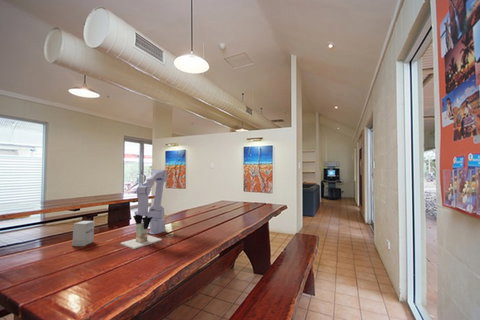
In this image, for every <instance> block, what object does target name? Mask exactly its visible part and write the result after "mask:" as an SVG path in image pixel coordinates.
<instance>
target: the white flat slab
mask: <svg viewBox="0 0 480 320" xmlns="http://www.w3.org/2000/svg"><path fill="white" fill-rule="evenodd" d="M162 240H163V239H162V238H159V237H157V236H156V237H155V236H154V235H148V234H147V241H144V242H141V243H140V242H137V241H136V238H133V239H129V240H126V241H122V242H119V244H120V245H121V246H124V247H127V248H129V249H132V250H136V249H139V248H142V247H145V246H148V245H151V244H152V245H153V244H155V243H158V242H161V241H162Z"/></svg>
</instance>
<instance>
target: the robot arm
mask: <svg viewBox="0 0 480 320" xmlns="http://www.w3.org/2000/svg"><path fill="white" fill-rule="evenodd" d="M167 172H168V171H167V170H166V169H152V170H151V172H150V176H149V178H146V179H145V180H144V182H143V183H142V184H141V185H138V186H137V187H136V195H137V197H136V198H137V201H138V202H137V210H135V211H134V215H133V216H132V218H133V219H134V221H135V225H136V224H140V223H144V229H149V231H147V232H148V233H147V234H151V235H157V234H161V233H165V232H166V220H165V218H164V217H165V207H163V206H162V198H163V192H164V191H163V190H164V185H165V183H166V182H167V179H168V173H167ZM155 184H156V186H155V192H154V199H153V205H151V206H150V207H149V195H150V194H151V191H152V188H153V186H154V185H155Z"/></svg>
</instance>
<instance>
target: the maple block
mask: <svg viewBox="0 0 480 320" xmlns="http://www.w3.org/2000/svg"><path fill="white" fill-rule="evenodd" d="M148 232H149V231H147V232H146V233H142V234H139V233H136V232H135V239H136V241H137V242H140V243H141V242H144V241H147V235H148V234H149V233H148Z"/></svg>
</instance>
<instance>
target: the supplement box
mask: <svg viewBox="0 0 480 320" xmlns="http://www.w3.org/2000/svg"><path fill="white" fill-rule="evenodd" d="M94 234H95V220H82V221H78V222H75V223H73V227H72V241H71V242H72V243H71V246H72V247H85V246H87V245H90V244H92V243H93V242H94V237H95V235H94Z"/></svg>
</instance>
